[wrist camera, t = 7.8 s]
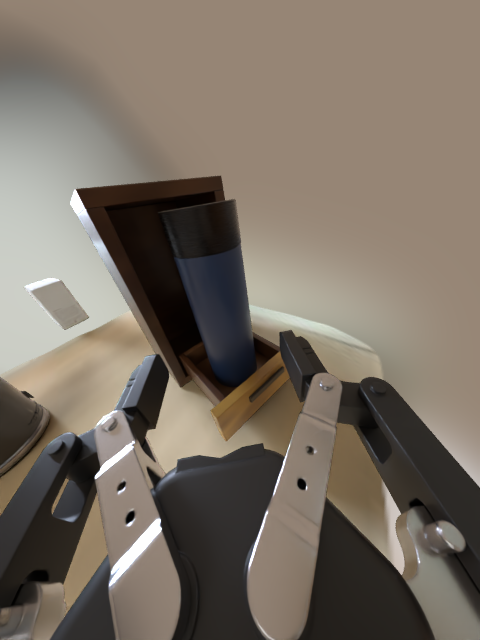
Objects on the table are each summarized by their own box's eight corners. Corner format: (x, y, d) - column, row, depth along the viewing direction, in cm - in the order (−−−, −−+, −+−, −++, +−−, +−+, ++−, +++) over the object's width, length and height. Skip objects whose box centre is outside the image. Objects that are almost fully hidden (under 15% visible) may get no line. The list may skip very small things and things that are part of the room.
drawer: (228, 444, 17) (218, 421, 15) (177, 378, 24) (166, 355, 22) (301, 368, 23) (303, 343, 20) (243, 333, 30) (239, 312, 28)
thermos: (232, 397, 20) (178, 209, 10) (205, 369, 24) (146, 214, 14) (266, 366, 23) (251, 195, 13) (237, 346, 27) (208, 203, 17)
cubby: (180, 387, 25) (74, 189, 12) (153, 350, 32) (70, 203, 20) (247, 340, 31) (221, 175, 18) (211, 318, 38) (176, 190, 26)
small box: (90, 318, 46) (61, 279, 41) (64, 330, 43) (29, 290, 37) (79, 312, 51) (52, 276, 45) (55, 323, 47) (22, 285, 41)
